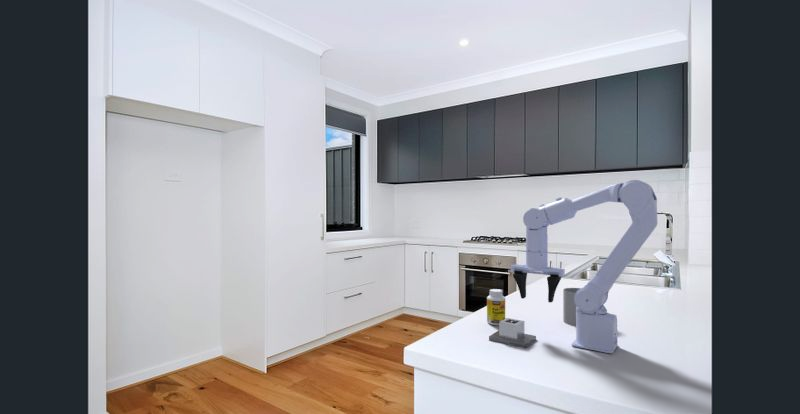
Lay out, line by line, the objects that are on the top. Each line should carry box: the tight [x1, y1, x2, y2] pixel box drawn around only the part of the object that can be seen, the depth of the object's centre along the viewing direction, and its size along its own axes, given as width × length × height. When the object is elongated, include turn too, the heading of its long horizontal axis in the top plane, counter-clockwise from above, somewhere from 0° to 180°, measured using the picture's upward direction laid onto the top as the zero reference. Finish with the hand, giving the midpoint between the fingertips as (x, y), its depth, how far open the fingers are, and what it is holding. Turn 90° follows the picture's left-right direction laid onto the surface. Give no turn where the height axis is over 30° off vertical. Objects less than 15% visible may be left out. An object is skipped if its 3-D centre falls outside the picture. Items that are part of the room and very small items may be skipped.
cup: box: [562, 287, 582, 327], centre depth 123 cm, size 8×8×10 cm
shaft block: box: [488, 320, 537, 349], centre depth 107 cm, size 10×8×5 cm
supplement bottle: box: [486, 288, 506, 326], centre depth 123 cm, size 6×6×10 cm
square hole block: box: [498, 317, 525, 340], centre depth 107 cm, size 5×5×4 cm
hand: (536, 299), depth 111 cm, fingers open, 7 cm apart
